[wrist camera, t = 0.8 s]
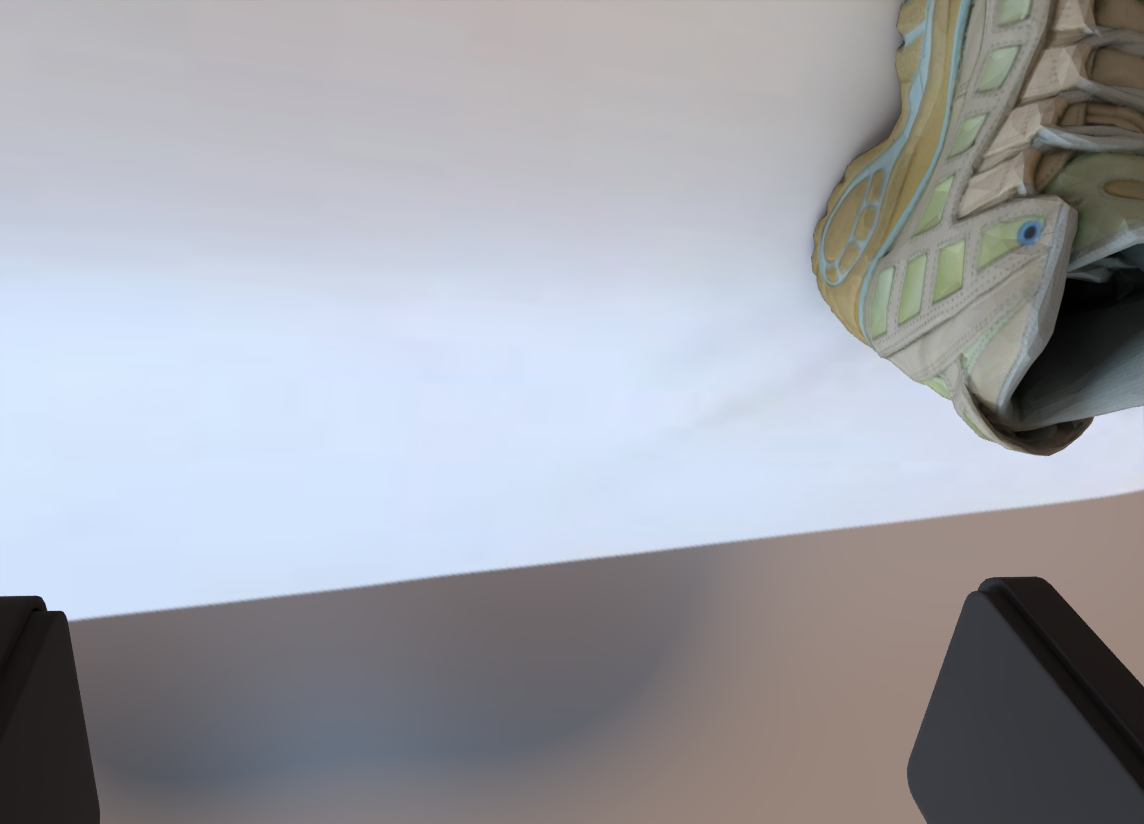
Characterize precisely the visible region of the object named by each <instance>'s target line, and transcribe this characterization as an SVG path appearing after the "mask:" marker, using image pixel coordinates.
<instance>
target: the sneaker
mask: <svg viewBox="0 0 1144 824" xmlns="http://www.w3.org/2000/svg"><path fill="white" fill-rule="evenodd" d="M896 27H897V29H898V31H899V33H900V34H901V36H902V38H903V40H904V42H905V43H903V44H902V45H901V46H900V47H899V49H898V50H897V54H896V62H895V66H896V70H897V75H898V79H899V83H900V87H901V101H902V112H901V114H900V116H899V118H898V120H897V122H896V124H895V126H894V128H893V130H892V132H891V134H890V136H889V137H887V138H886V139H885V140H883V141H882V142H881V143H879V144H878V145H877V146H875V147H874V148H872V149H870V150H868V151H866V152H864V153H862V154H861V155H859V156H857V157H856V158H855V159H854V160H853V161H852V162H851V163H850V164H849V165H848V166H847V169H846V171H845V174H844V177H843V179H842V181H841V182H840V183H839V184H838V186H837V187H836V188H835V189H834V191H833V193H832V195H831V197H830V199H829V200H828V202H827V215H826V216H825V217H824V218H822V219H821V220H820V221H819V222H818V224H817V226H816V229H815V232H814V234H813V236H814V241H815V246H816V247H815V249H814V252H813V254H812V257H811V259H812V270H813V273H814V274H815V275H816V276H817V285H818V289H819V291H820V293H821V295H822V297H823V299H824V300H825V301H826V302H827V304H828V305H829V306H830V308H831V311H832V312H833V313H834V314H835V315H836V317H837V318H838V319H839V320H840V321H841V322H842V324H843V325H844V326H845V327H846V329H847V330H848V331H849V332H850V333H851V334H853V335H854V336H855V337H856V338H858V339H859V340H860V341H861V342H863V343H864V344H866V345H868V346H869V347H871V348H872V349H873V350H874V351H876V352H877V353H878V355H879V356H880V357H882V358H885V359H888V360H889V361H890V362H892V363H893V364H894V365H895V366H896V367H898V368H899V369H900V370H901V371H902V372H903V373H905V374H906V375H907V376H908V377H909V378H911V379H912V380H913V381H916V382H918V383H921V384H923V385H927V386H929V387H930V388H931V389H933V390H934V391H935V392H937V393H938V394H939V395H941V396H942V397H944V398H947V399H949V400H952V402H953V405H954V408H955V410H956V412H957V414H958V415H959V416H960V417H961V418H962V419H963V420H964V421H965V423H966V424H967V425H968V426H969V427H970V428H971V429H972V430H973V431H974V432H975V433H976V434H977V435H978V436H979V437H980V438H983V439H985V440H988V441H991V442H994V443H998V444H1000V445H1001V446H1003V447H1004V448H1006V449H1009V450H1014V451H1018V452H1023V453H1027V454H1032V455H1038V456H1050V455H1052V454H1054V453H1057V452H1059V451H1061V450H1063V449H1064V448H1066V447H1067V446H1068V445H1069V444H1071V443H1072V442H1073V441H1074V440H1076V439H1077V438H1078V437H1079V436H1081V435H1082V433H1083V432H1084V431H1085V430H1086V429H1087V428H1088V427H1089V425H1090V424H1091V423H1092V421H1093V418H1094V416H1098V415H1103V414H1107V413H1111V412H1115V411H1120V410H1124V409H1128V408H1132V407H1139V406H1144V0H906V1H905V2H904V3H903V4H902V6H901V9H900V13H899V17H898V22H897V26H896Z"/></svg>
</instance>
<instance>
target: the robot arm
mask: <svg viewBox="0 0 1144 824" xmlns="http://www.w3.org/2000/svg"><path fill="white" fill-rule="evenodd" d="M907 777H908V784H909V788H910V792H911V794H912V796H913V798H914V800H915V802H916V804H917V806H918V807H919V809H920V811H921V813H922V815H923V816H924V818H925V820H926V822H927V824H1144V687H1143V685H1141V683H1140V682H1139V681H1138V680H1137V679H1136V678H1135V677H1134V676H1133V674H1132V673H1131V672H1130V671H1129V670H1128V669H1127V668H1126V667H1125V666H1124V665H1123V664H1122V663H1121V661H1120V660H1119V659H1118V658H1117V657H1116V656H1115V655H1114V654H1113V652H1111V650H1110V649H1109V648H1108V647H1107V646H1106V645H1105V644H1104V643H1103V641H1102V640H1101V639H1100V638H1099V637H1098V636H1097V635H1096V634H1095V633H1094V632H1093V630H1092V629H1091V628H1090V627H1089V626H1088V625H1087V624H1086V623H1085V622H1084V621H1083V620H1082V618H1081V617H1080V616H1079V615H1078V614H1077V613H1076V612H1075V611H1074V610H1073V608H1072V607H1071V606H1070V605H1069V604H1068V603H1067V602H1066V601H1065V600H1064V599H1063V597H1062V596H1061V595H1060V594H1059V593H1058V592H1057V591H1056V590H1055V589H1054V588H1053V586H1052V585H1051V584H1049V583H1048V582H1047V581H1046V580H1044V579H1042V578H1039V577H993V578H989V579H986V580H985V581H984V582H982V583H981V584H980V586H979V588H978V590H977V591H974V592H971V593H970V594H969V595H968V596H967V598H966V600H965V602H964V605H963V608H962V611H961V614H960V617H959V619H958V622H957V625H956V628H955V631H954V634H953V637H952V639H951V642H950V645H949V648H948V651H947V654H946V656H945V659H944V662H943V665H942V668H941V670H940V673H939V676H938V679H937V682H936V685H935V688H934V690H933V693H932V696H931V699H930V702H929V705H928V707H927V710H926V713H925V716H924V719H923V722H922V724H921V727H920V730H919V733H918V736H917V739H916V741H915V744H914V747H913V750H912V753H911V756H910V758H909V762H908V767H907ZM0 824H100V810H99V801H98V795H97V790H96V784H95V778H94V773H93V766H92V761H91V755H90V749H89V744H88V737H87V731H86V726H85V720H84V714H83V709H82V703H81V697H80V691H79V685H78V679H77V673H76V667H75V662H74V656H73V650H72V644H71V638H70V632H69V627H68V622H67V618H66V615H65V614H64V612H62V611H47V608H46V605H45V602H44V601H43V599H42V598H41V597H39V596H0Z"/></svg>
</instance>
